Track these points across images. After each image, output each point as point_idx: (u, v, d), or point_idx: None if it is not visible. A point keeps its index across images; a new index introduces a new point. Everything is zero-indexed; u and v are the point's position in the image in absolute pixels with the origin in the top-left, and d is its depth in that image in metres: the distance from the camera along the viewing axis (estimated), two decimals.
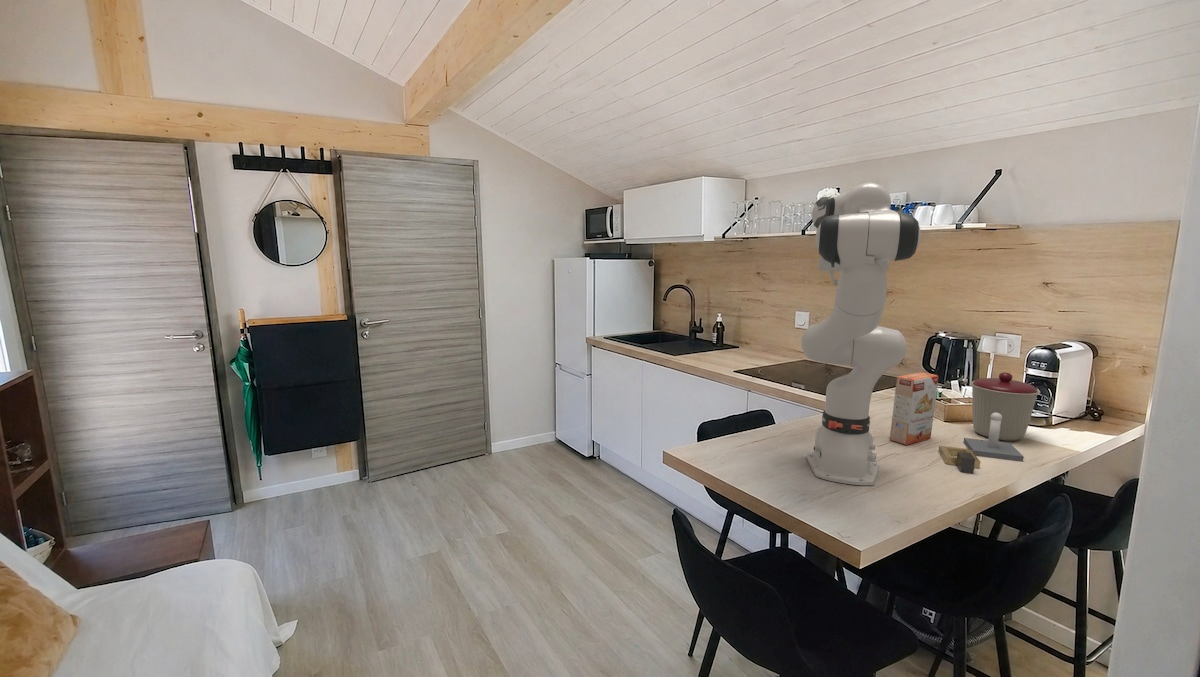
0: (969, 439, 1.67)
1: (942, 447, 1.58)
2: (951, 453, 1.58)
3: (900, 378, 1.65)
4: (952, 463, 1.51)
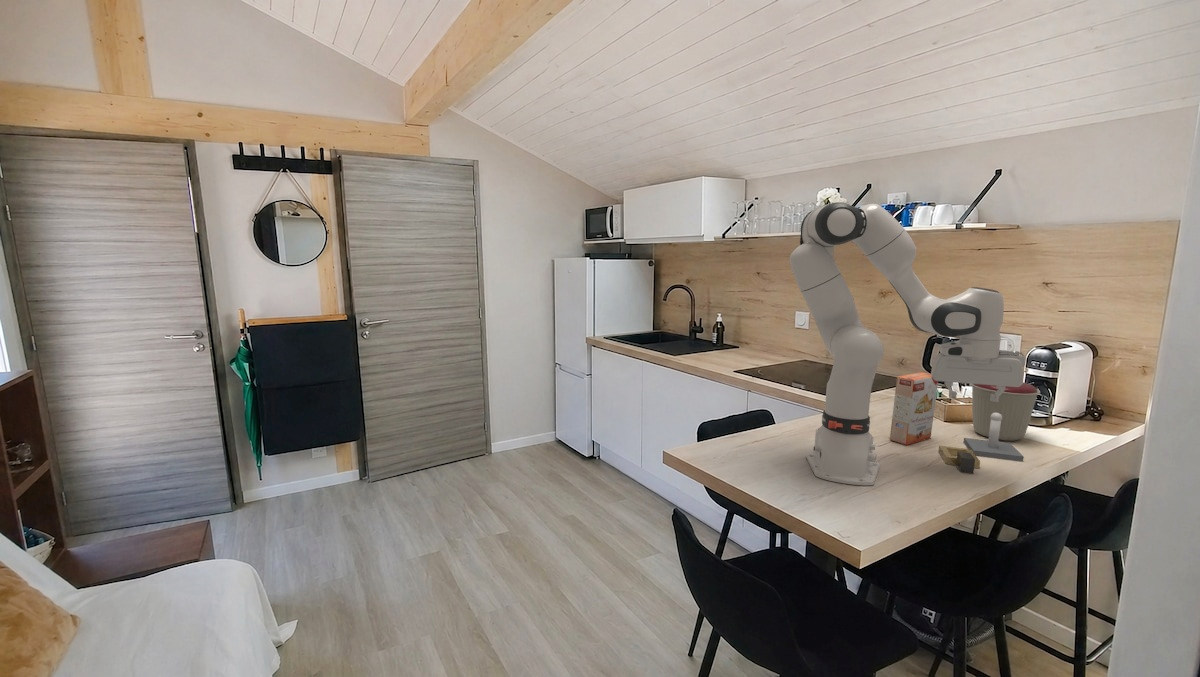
0: (969, 439, 1.67)
1: (942, 447, 1.58)
2: (951, 453, 1.58)
3: (900, 378, 1.65)
4: (952, 463, 1.51)
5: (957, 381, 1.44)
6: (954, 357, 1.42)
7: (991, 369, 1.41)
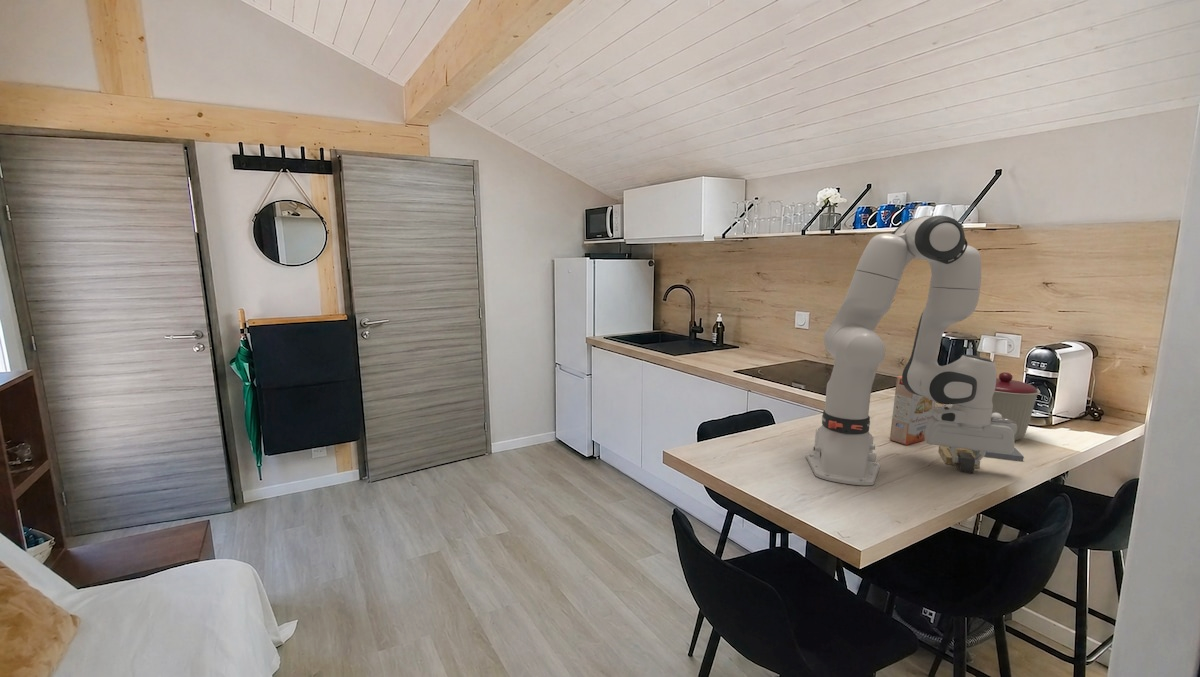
0: None
1: (942, 447, 1.58)
2: (951, 453, 1.58)
3: (900, 378, 1.65)
4: (952, 463, 1.51)
5: (950, 445, 1.46)
6: (947, 422, 1.45)
7: (983, 436, 1.43)
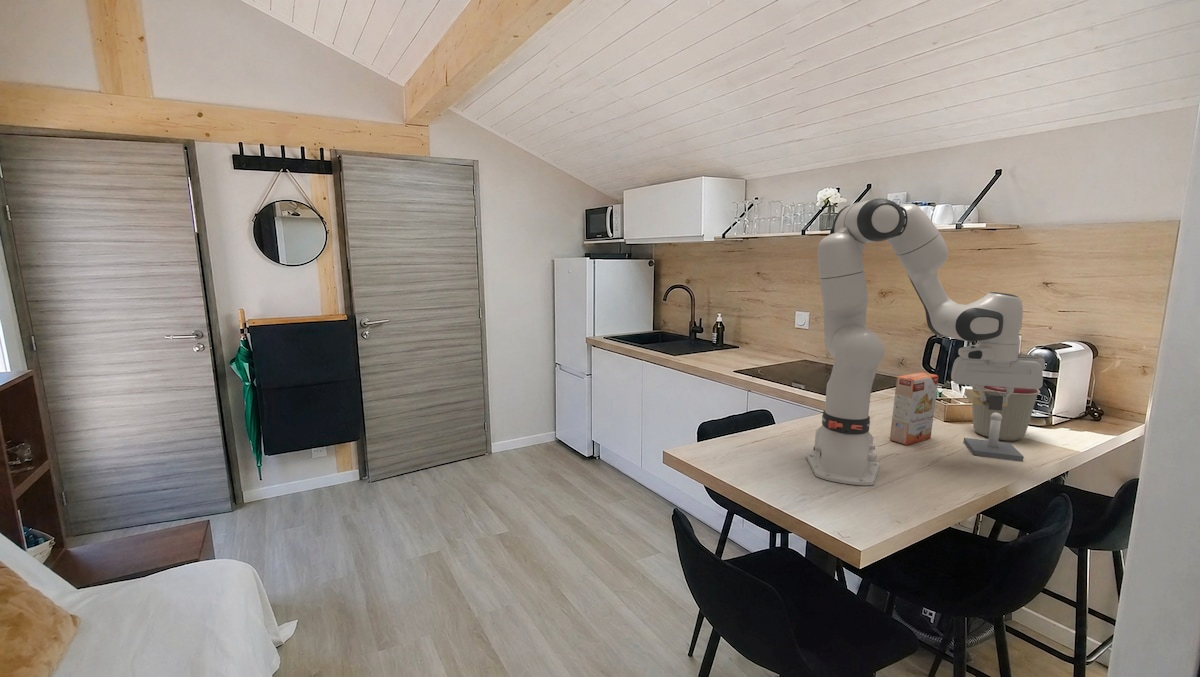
0: (969, 439, 1.67)
1: (968, 390, 1.59)
2: (978, 395, 1.58)
3: (900, 378, 1.65)
4: (980, 403, 1.51)
5: (977, 384, 1.47)
6: (974, 360, 1.46)
7: (1011, 372, 1.44)
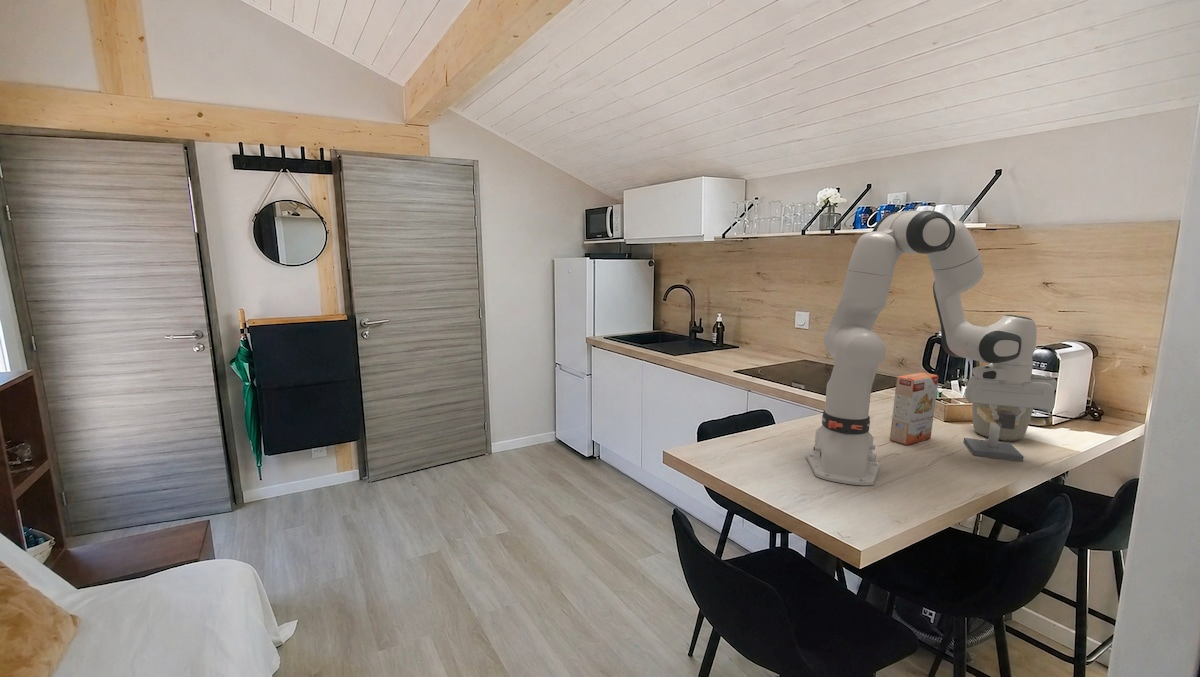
0: (969, 439, 1.67)
1: (980, 407, 1.64)
2: (989, 413, 1.63)
3: (900, 378, 1.65)
4: (992, 421, 1.56)
5: (991, 403, 1.52)
6: (988, 380, 1.50)
7: (1023, 392, 1.49)
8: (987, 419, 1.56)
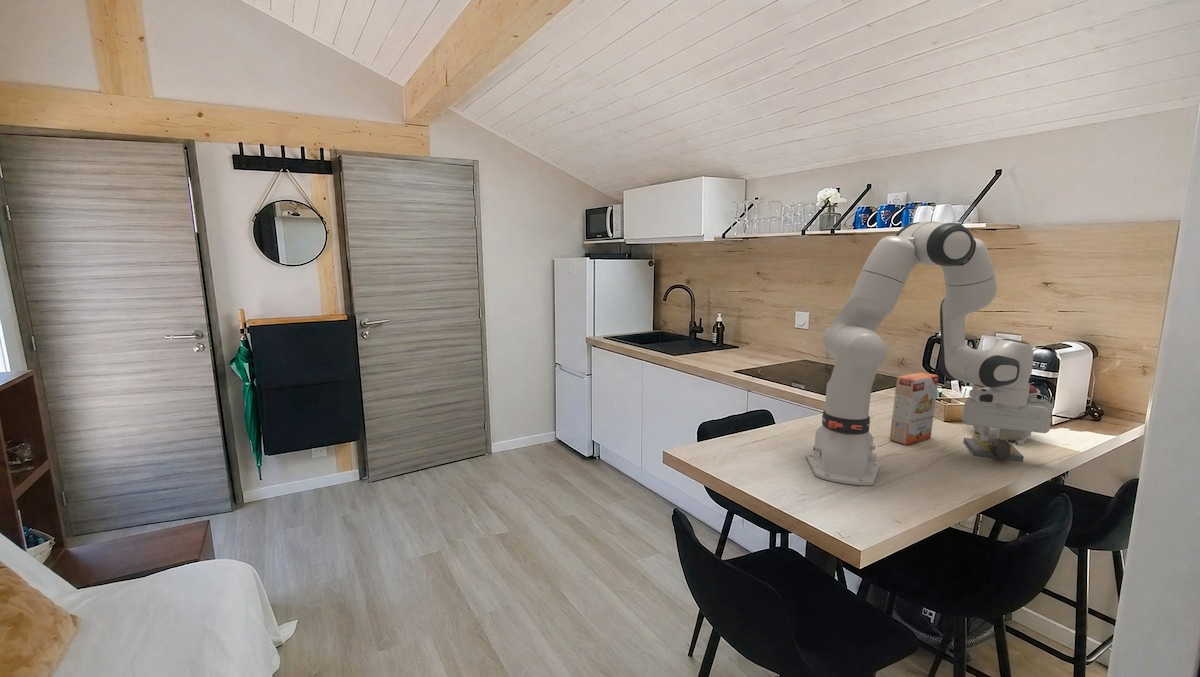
0: (969, 439, 1.67)
1: (976, 435, 1.65)
2: None
3: (900, 378, 1.65)
4: (987, 450, 1.57)
5: (987, 426, 1.53)
6: (985, 403, 1.51)
7: (1020, 416, 1.50)
8: (982, 448, 1.58)
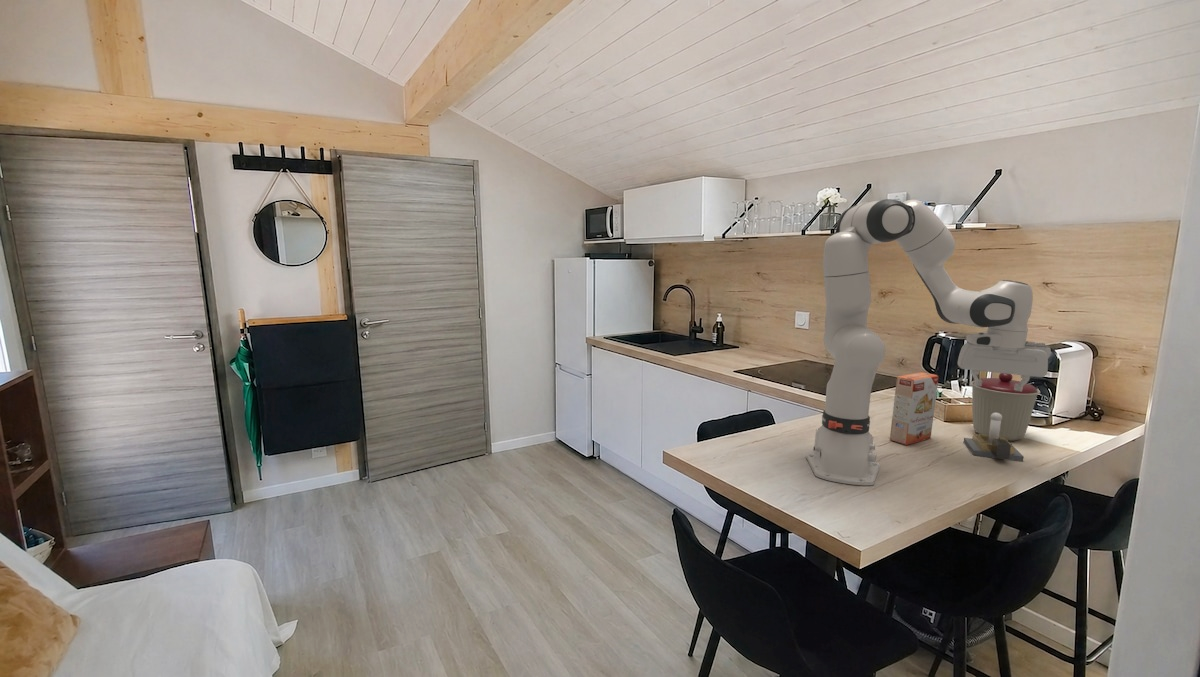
0: (969, 439, 1.67)
1: (976, 435, 1.65)
2: (985, 441, 1.64)
3: (900, 378, 1.65)
4: (987, 450, 1.57)
5: (983, 370, 1.50)
6: (982, 346, 1.49)
7: (1017, 359, 1.47)
8: (982, 448, 1.58)
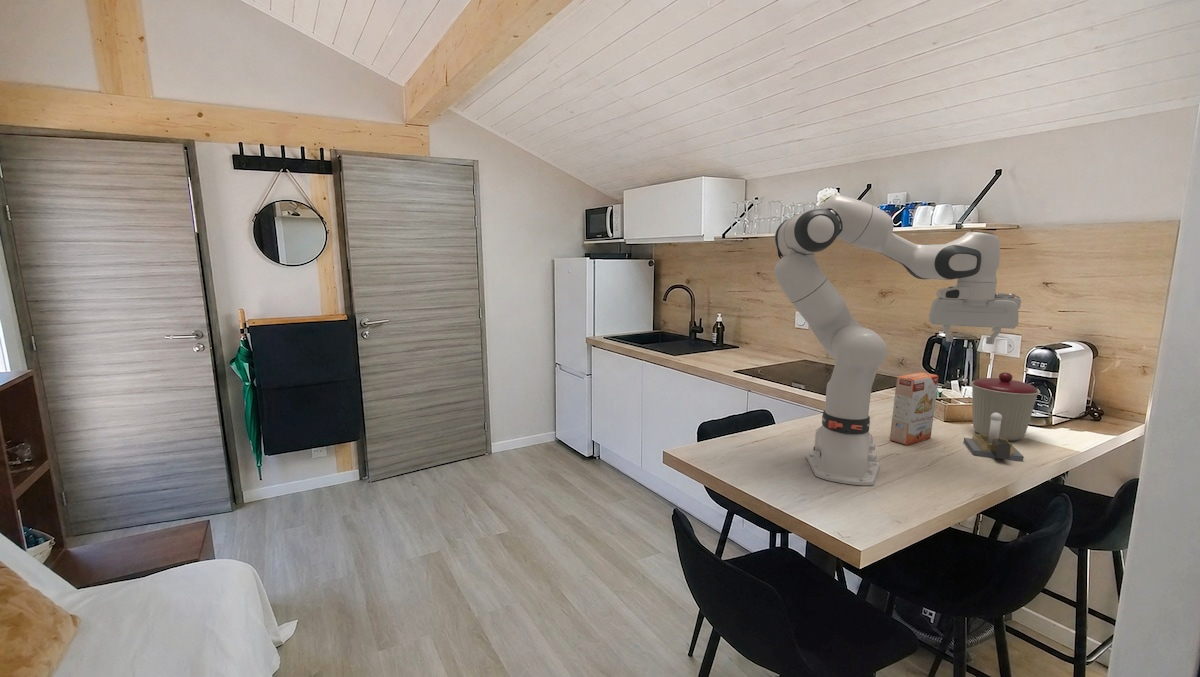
0: (969, 439, 1.67)
1: (976, 435, 1.65)
2: (985, 441, 1.64)
3: (900, 378, 1.65)
4: (987, 450, 1.57)
5: (954, 324, 1.48)
6: (951, 300, 1.46)
7: (987, 312, 1.44)
8: (982, 448, 1.58)
